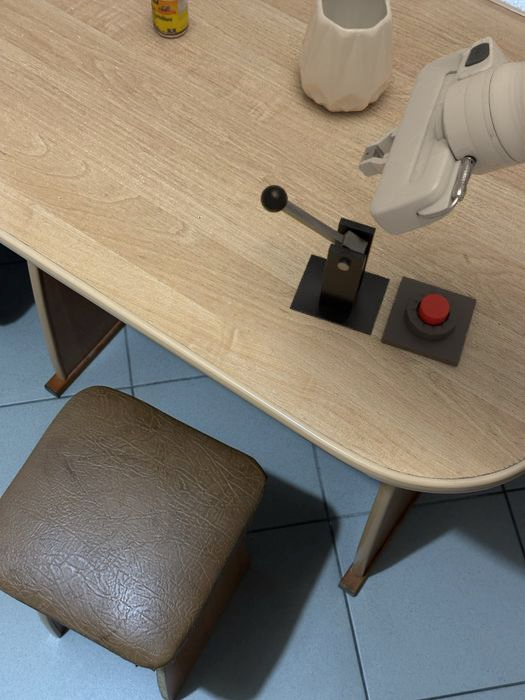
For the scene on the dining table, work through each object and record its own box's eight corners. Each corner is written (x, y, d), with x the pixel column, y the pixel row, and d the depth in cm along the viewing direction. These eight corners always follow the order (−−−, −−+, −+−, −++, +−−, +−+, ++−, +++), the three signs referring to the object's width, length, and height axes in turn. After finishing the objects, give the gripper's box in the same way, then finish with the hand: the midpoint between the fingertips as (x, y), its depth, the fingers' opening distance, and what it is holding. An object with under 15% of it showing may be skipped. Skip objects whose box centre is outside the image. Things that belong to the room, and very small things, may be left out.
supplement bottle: (146, 29, 132) (140, -26, 123) (168, 9, 134) (164, -47, 125) (174, 44, 131) (169, -10, 122) (196, 25, 133) (193, -31, 124)
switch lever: (252, 207, 98) (263, 195, 95) (261, 187, 99) (273, 175, 96) (349, 268, 101) (363, 258, 99) (357, 247, 103) (371, 237, 100)
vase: (393, 120, 125) (412, 41, 112) (299, 123, 125) (307, 43, 111) (381, 51, 132) (398, -31, 118) (292, 54, 131) (298, -29, 117)
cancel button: (449, 305, 107) (452, 298, 105) (442, 329, 105) (445, 322, 104) (422, 297, 107) (425, 290, 106) (415, 320, 106) (417, 313, 104)
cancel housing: (472, 307, 111) (480, 292, 107) (454, 371, 107) (462, 357, 103) (400, 284, 112) (405, 268, 109) (379, 346, 108) (384, 331, 104)
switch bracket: (289, 312, 110) (296, 254, 97) (310, 259, 114) (320, 196, 101) (369, 339, 108) (386, 283, 96) (388, 283, 112) (407, 223, 100)
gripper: (477, 233, 73) (354, 259, 83) (523, 71, 82) (407, 113, 92) (440, 186, 70) (316, 219, 80) (492, 23, 79) (375, 71, 88)
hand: (365, 161), depth 86 cm, fingers closed
